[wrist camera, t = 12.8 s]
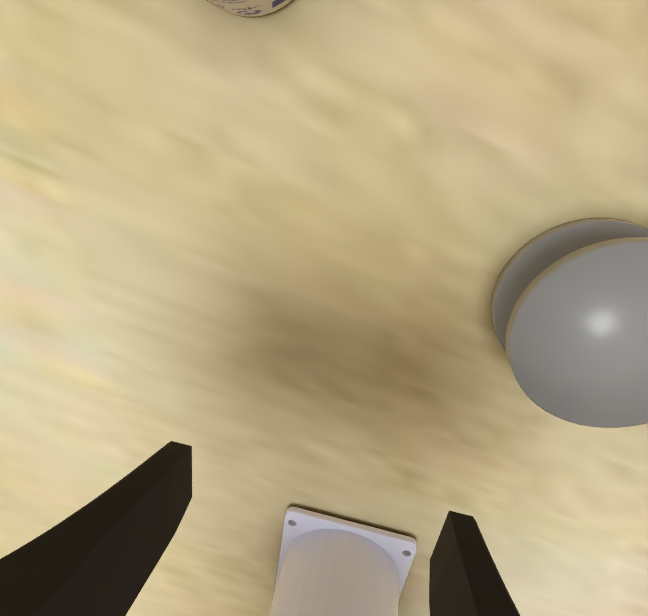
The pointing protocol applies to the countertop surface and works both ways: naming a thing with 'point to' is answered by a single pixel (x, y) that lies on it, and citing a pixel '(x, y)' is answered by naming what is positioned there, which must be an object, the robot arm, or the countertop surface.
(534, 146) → the countertop surface
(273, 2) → the energy drink
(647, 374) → the grey yo-yo
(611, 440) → the countertop surface
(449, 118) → the countertop surface
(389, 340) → the countertop surface
